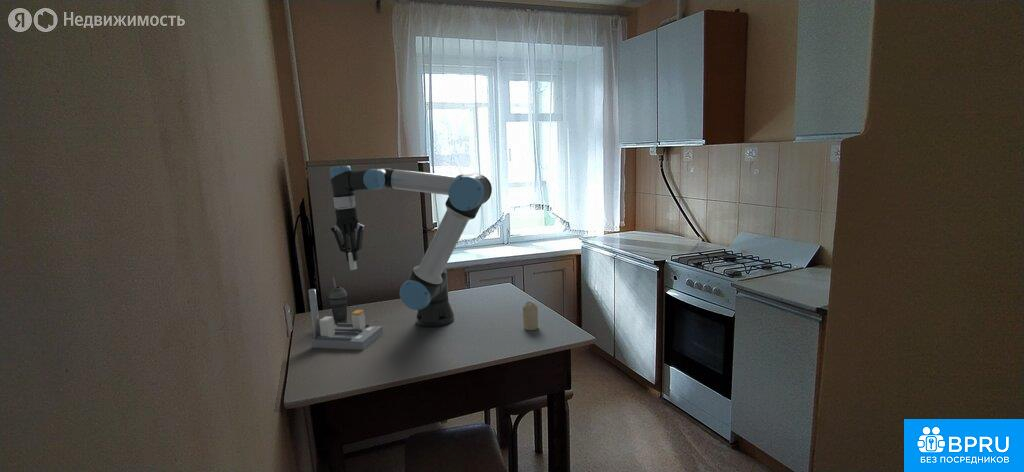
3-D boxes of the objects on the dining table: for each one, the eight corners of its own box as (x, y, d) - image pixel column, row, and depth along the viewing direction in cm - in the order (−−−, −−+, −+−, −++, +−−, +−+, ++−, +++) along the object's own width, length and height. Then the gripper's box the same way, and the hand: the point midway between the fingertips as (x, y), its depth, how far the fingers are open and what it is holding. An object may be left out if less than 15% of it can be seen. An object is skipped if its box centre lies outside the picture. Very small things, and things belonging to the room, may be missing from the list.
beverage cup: (344, 327, 190) (339, 279, 187) (327, 327, 192) (322, 279, 188) (353, 321, 197) (348, 274, 194) (337, 320, 199) (332, 274, 195)
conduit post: (322, 336, 174) (316, 288, 170) (318, 339, 171) (312, 290, 168) (316, 336, 174) (310, 288, 171) (312, 338, 172) (306, 290, 169)
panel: (382, 333, 182) (381, 323, 181) (363, 349, 168) (362, 339, 167) (335, 332, 186) (334, 322, 185) (312, 347, 172) (311, 337, 171)
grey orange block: (365, 327, 181) (364, 309, 180) (360, 330, 177) (358, 313, 176) (358, 326, 182) (356, 309, 181) (353, 330, 178) (351, 313, 177)
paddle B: (335, 334, 175) (333, 316, 174) (328, 338, 171) (326, 320, 170) (327, 334, 176) (325, 316, 175) (321, 338, 172) (319, 320, 171)
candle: (541, 327, 182) (540, 302, 180) (531, 331, 178) (530, 305, 176) (530, 324, 185) (529, 299, 184) (520, 328, 181) (519, 303, 180)
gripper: (366, 205, 181) (373, 266, 185) (334, 207, 183) (342, 267, 187) (357, 207, 173) (365, 270, 177) (323, 210, 175) (332, 272, 179)
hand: (353, 269), depth 182 cm, fingers closed
